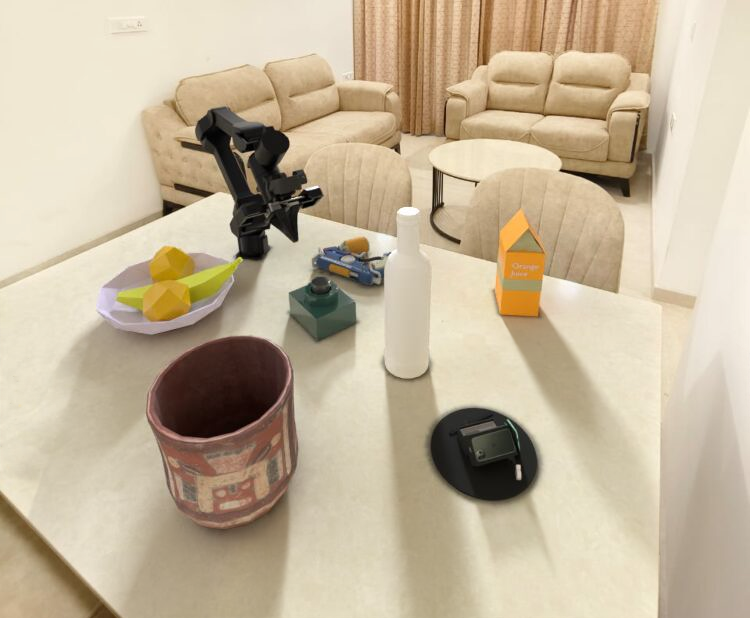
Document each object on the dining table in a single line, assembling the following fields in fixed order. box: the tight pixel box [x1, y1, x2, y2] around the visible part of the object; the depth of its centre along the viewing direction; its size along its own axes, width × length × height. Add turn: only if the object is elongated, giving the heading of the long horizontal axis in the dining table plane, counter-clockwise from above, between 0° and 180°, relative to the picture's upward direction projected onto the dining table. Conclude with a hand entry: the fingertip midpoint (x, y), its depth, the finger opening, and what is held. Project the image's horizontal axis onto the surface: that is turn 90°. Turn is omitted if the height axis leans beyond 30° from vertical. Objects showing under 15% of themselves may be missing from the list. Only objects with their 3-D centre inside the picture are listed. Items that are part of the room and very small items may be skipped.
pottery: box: [145, 334, 299, 530], centre depth 65 cm, size 18×18×18 cm
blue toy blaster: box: [311, 236, 393, 286], centre depth 119 cm, size 21×4×15 cm
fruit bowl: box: [95, 245, 244, 336], centre depth 103 cm, size 28×27×11 cm
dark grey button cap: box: [310, 275, 331, 295], centre depth 99 cm, size 4×4×2 cm
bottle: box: [383, 206, 433, 379], centre depth 84 cm, size 8×8×30 cm
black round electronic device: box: [430, 407, 538, 502], centre depth 71 cm, size 15×15×6 cm
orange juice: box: [494, 208, 547, 317], centre depth 102 cm, size 8×9×20 cm
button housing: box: [288, 280, 357, 342], centre depth 100 cm, size 11×9×7 cm
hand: (296, 241), depth 103 cm, fingers closed
